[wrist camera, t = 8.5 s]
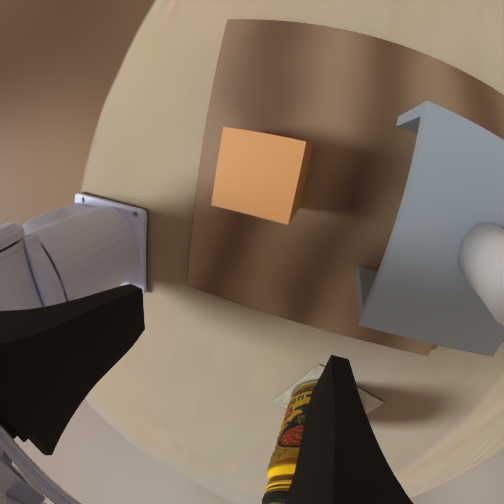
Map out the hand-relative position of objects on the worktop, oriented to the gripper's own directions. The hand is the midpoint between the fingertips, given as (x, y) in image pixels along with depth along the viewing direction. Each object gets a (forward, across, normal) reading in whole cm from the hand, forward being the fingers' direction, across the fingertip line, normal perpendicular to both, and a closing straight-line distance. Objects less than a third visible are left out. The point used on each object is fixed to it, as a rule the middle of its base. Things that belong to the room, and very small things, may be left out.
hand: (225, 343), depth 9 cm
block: (+10, +2, -5) cm, 11 cm away
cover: (+9, -10, -5) cm, 14 cm away
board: (+10, -4, -5) cm, 12 cm away
